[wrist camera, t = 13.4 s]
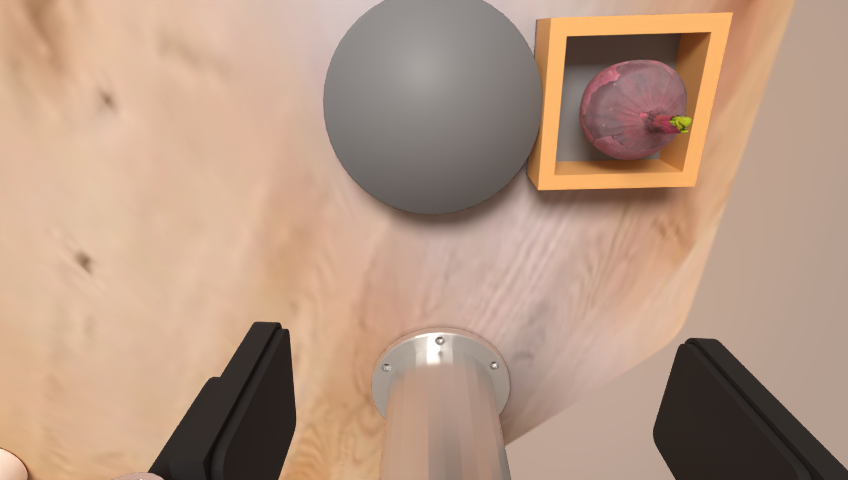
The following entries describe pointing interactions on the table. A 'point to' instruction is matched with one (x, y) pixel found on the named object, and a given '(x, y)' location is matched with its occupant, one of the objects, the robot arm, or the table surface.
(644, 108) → the vegetable
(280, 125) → the table surface
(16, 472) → the cup
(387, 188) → the dome with orange frame
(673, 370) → the robot arm
